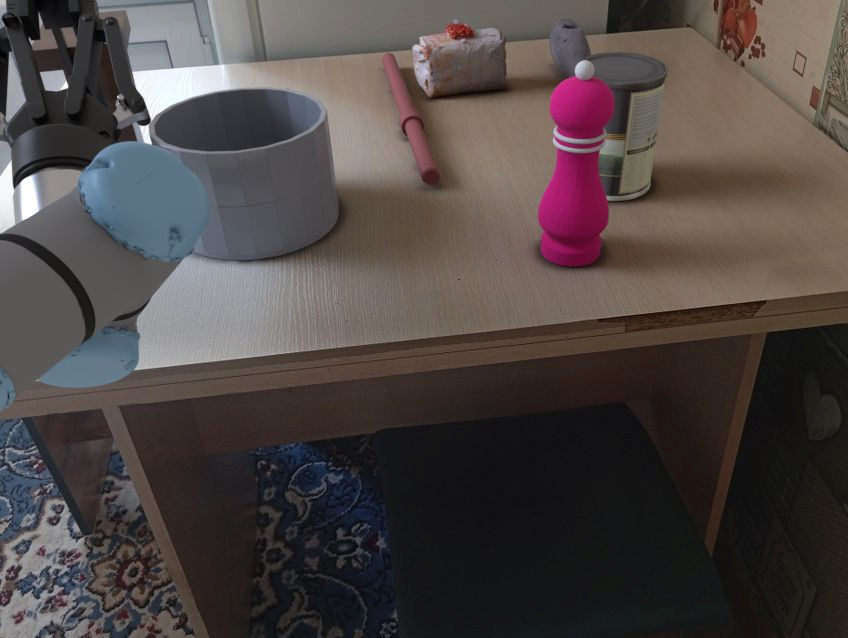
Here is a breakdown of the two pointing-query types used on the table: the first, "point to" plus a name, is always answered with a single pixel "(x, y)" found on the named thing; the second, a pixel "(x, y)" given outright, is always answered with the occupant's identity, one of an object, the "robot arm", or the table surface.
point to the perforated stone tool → (567, 45)
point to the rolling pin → (411, 122)
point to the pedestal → (52, 61)
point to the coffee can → (629, 121)
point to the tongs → (56, 17)
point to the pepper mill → (576, 170)
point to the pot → (255, 168)
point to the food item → (460, 61)
